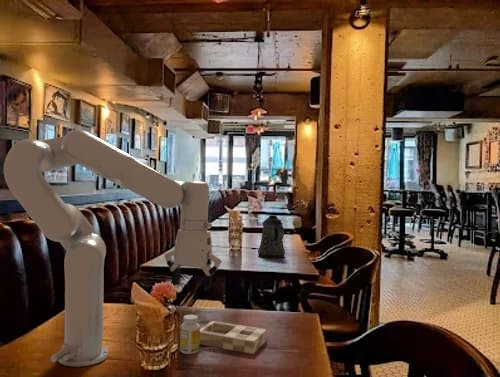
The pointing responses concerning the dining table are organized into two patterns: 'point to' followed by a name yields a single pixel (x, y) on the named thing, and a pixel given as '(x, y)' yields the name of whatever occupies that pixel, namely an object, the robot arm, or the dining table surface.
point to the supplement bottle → (190, 335)
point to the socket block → (232, 336)
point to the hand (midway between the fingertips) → (191, 287)
